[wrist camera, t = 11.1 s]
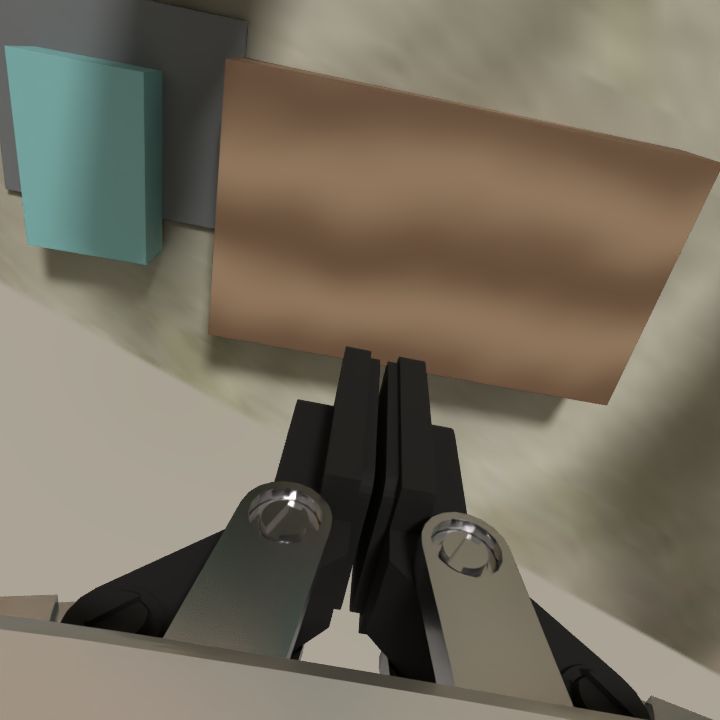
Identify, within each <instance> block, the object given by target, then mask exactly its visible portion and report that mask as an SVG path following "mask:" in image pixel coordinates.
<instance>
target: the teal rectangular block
mask: <svg viewBox="0 0 720 720" xmlns="http://www.w3.org/2000/svg"><path fill="white" fill-rule="evenodd" d="M5 55H6V64H7V72H8V81H9V89H10V98H11V106H12V115H13V124H14V132H15V141H16V149H17V158H18V166H19V175H20V184H21V192H22V201H23V209H24V218H25V226H26V235H27V244H28V245H32V246H38V247H44V248H50V249H55V250H61V251H67V252H73V253H79V254H84V255H90V256H96V257H102V258H108V259H113V260H119V261H125V262H131V263H137V264H143V265H147V264H148V263H149V262H150V261H151V260H152V259H153V258H154V257H155V256H156V255H158V254H159V253H160V252H161V251H162V152H163V71H160V70H155V69H150V68H145V67H140V66H134V65H129V64H124V63H119V62H114V61H108V60H103V59H98V58H93V57H88V56H83V55H77V54H72V53H67V52H62V51H57V50H51V49H46V48H41V47H36V46H5Z"/></svg>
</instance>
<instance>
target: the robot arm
mask: <svg viewBox="0 0 720 720" xmlns="http://www.w3.org/2000/svg"><path fill="white" fill-rule="evenodd" d="M379 377H380V360H379V359H374V358H371V351H369V350H363V349H358V348H353V347H348V346H346V348H345V352H344V357H343V362H342V367H341V372H340V377H339V382H338V387H337V392H336V397H335V402H334V406H330V405H325V404H320V403H315V402H309V401H304V400H299V399H298V400H297V403H296V406H295V410H294V413H293V417H292V421H291V424H290V428H289V431H288V435H287V439H286V442H285V446H284V449H283V453H282V457H281V460H280V464H279V467H278V471H277V475H276V478H275V482H270V483H267V484H263V485H260V486H258V487H256V488H255V489H253V490H251V491H250V492H248V494H247V495H246V496H245V497H244V498H243V499H242V501H241V502H240V504H239V506H238V507H237V509H236V511H235V513H234V514H233V516H232V518H231V520H230V522H229V523H228V525H227V527H226V529H224V530H222V531H220V532H218V533H215V534H213V535H211V536H209V537H207V538H205V539H203V540H200V541H198V542H196V543H194V544H191V545H189V546H187V547H185V548H183V549H180V550H178V551H176V552H174V553H172V554H170V555H167V556H165V557H163V558H161V559H159V560H156V561H154V562H152V563H150V564H148V565H145V566H144V567H141V568H139V569H137V570H134V571H132V572H130V573H128V574H126V575H124V576H121V577H119V578H117V579H115V580H113V581H110V582H108V583H106V584H104V585H102V586H99V587H97V588H95V589H94V590H92V591H90V592H89V593H87V594H85V595H84V596H82V597H80V599H78V600H77V601H76V602H61V603H58V596H57V595H38V596H37V595H36V596H9V597H0V720H712V719H709V718H707V717H705V716H702V715H699V714H697V713H694V712H692V711H689V710H687V709H684V708H681V707H679V706H676V705H673V704H671V703H668V702H666V701H664V700H661V699H659V698H656V697H653V696H650V698H649V699H648V701H646V702H644V701H642V700H640V698H639V697H638V695H637V693H636V692H635V691H634V690H633V689H632V688H631V687H630V686H629V684H628V683H627V682H626V681H625V680H624V679H623V678H622V677H621V676H619V675H618V674H617V673H616V672H615V671H614V670H613V669H612V668H610V667H609V666H608V665H607V664H606V663H605V662H603V661H602V660H601V659H600V658H599V657H598V656H597V655H595V654H594V653H593V652H592V651H591V650H590V649H589V648H587V647H586V646H585V645H584V644H583V643H582V642H581V641H579V640H578V639H577V638H576V637H575V636H573V635H572V634H571V633H570V632H569V631H568V630H567V629H566V628H564V627H563V626H562V625H561V624H560V623H559V622H558V621H556V620H555V619H554V618H553V617H552V616H550V615H549V614H548V613H547V612H546V611H545V610H544V609H543V608H542V607H540V606H539V605H538V604H537V603H536V602H535V601H533V600H532V599H531V598H530V597H529V595H528V592H527V590H526V587H525V585H524V582H523V580H522V578H521V575H520V573H519V570H518V568H517V565H516V563H515V560H514V558H513V555H512V553H511V550H510V548H509V546H508V545H507V543H506V541H505V540H504V538H503V537H502V536H501V535H500V534H499V533H498V532H497V531H496V530H495V529H494V528H493V527H492V526H490V525H489V524H487V523H486V522H484V521H483V520H481V519H478V518H476V517H474V516H471V515H469V514H467V511H466V504H465V498H464V491H463V485H462V478H461V472H460V465H459V459H458V452H457V446H456V439H455V434H454V430H453V429H452V428H447V427H442V426H436V425H432V424H431V414H430V404H429V393H428V383H427V373H426V363H425V361H420V360H415V359H410V358H405V357H400V356H399V358H398V360H397V363H395V362H390V361H388V362H387V365H386V369H385V373H384V377H383V381H382V385H381V389H380V393H379ZM352 566H353V571H352V583H351V596H350V612H356V613H360V618H359V633H361V634H367V635H368V636H369V637H370V638H371V639H372V641H373V642H374V643H375V644H376V645H377V646H378V647H379V649H380V650H381V653H380V656H379V672H380V674H377V673H371V672H365V671H359V670H353V669H346V668H341V667H335V666H329V665H323V664H317V663H311V662H305V661H300V659H301V657H302V653H303V648H304V644H305V643H306V642H308V641H309V640H311V639H312V638H314V637H315V636H317V635H318V634H320V633H321V632H323V631H324V630H326V629H327V628H328V627H329V625H330V621H331V617H332V613H333V610H334V609H339V610H340V609H341V607H342V603H343V599H344V596H345V592H346V588H347V584H348V581H349V577H350V573H351V570H352Z"/></svg>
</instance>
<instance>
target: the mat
mask: <svg viewBox="0 0 720 720" xmlns="http://www.w3.org/2000/svg"><path fill="white" fill-rule="evenodd" d="M247 33H248V22H247V21H242V20H237V19H233V18H228V17H223V16H219V15H214V14H209V13H205V12H200V11H196V10H191V9H186V8H182V7H177V6H172V5H168V4H163V3H159V2H154V1H149V0H0V144H1V153H2V162H3V170H4V179H5V188H6V189H8V190H13V191H19V192H21V184H20V175H19V166H18V158H17V149H16V141H15V132H14V124H13V115H12V106H11V98H10V89H9V81H8V72H7V64H6V55H5V46H36V47H41V48H46V49H51V50H57V51H62V52H67V53H72V54H77V55H83V56H88V57H93V58H98V59H103V60H108V61H114V62H119V63H124V64H129V65H134V66H140V67H145V68H150V69H155V70H160V71H163V152H162V219H166V220H171V221H176V222H181V223H187V224H192V225H197V226H202V227H207V228H213V229H215V219H216V203H217V187H218V171H219V156H220V140H221V124H222V108H223V93H224V77H225V61H226V58H246V46H247Z"/></svg>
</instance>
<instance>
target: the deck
mask: <svg viewBox="0 0 720 720" xmlns="http://www.w3.org/2000/svg"><path fill="white" fill-rule="evenodd" d="M719 172H720V162H717V161H714V160H711V159H708V158H704V157H701V156H698V155H695V154H692V153H689V152H685V151H682V150H678V149H674V148H669V147H664V146H660V145H655V144H650V143H645V142H641V141H636V140H631V139H626V138H622V137H617V136H612V135H608V134H603V133H598V132H593V131H589V130H584V129H579V128H574V127H570V126H565V125H560V124H555V123H551V122H546V121H541V120H537V119H532V118H527V117H522V116H518V115H513V114H508V113H503V112H499V111H494V110H489V109H485V108H480V107H475V106H470V105H466V104H461V103H456V102H451V101H447V100H442V99H437V98H433V97H428V96H423V95H418V94H414V93H409V92H404V91H399V90H395V89H390V88H385V87H381V86H376V85H371V84H366V83H362V82H357V81H352V80H347V79H343V78H338V77H333V76H329V75H324V74H319V73H314V72H310V71H305V70H300V69H295V68H291V67H286V66H281V65H277V64H272V63H267V62H262V61H258V60H253V59H248V58H226V61H225V77H224V93H223V108H222V124H221V140H220V156H219V171H218V187H217V203H216V219H215V235H214V250H213V266H212V282H211V298H210V314H209V329H208V334H209V335H214V336H220V337H226V338H231V339H237V340H242V341H248V342H254V343H259V344H265V345H270V346H276V347H282V348H287V349H293V350H298V351H304V352H310V353H315V354H321V355H327V356H332V357H338V358H343V357H344V352H345V348H346V346H348V347H353V348H358V349H363V350H369V351H371V358H374V359H379V360H380V365H383V366H386V365H387V362H388V361H390V362H395V363H397V360H398V358H399V356H400V357H405V358H410V359H415V360H420V361H425V363H426V373H428V374H433V375H439V376H444V377H450V378H456V379H461V380H467V381H472V382H478V383H484V384H489V385H495V386H500V387H506V388H512V389H517V390H523V391H529V392H534V393H540V394H545V395H551V396H557V397H562V398H568V399H573V400H579V401H585V402H590V403H596V404H602V405H607V404H608V402H609V400H610V398H611V396H612V394H613V392H614V390H615V388H616V386H617V384H618V381H619V379H620V377H621V375H622V373H623V371H624V369H625V367H626V365H627V363H628V361H629V359H630V356H631V354H632V352H633V350H634V348H635V346H636V344H637V342H638V340H639V338H640V336H641V334H642V332H643V329H644V327H645V325H646V323H647V321H648V319H649V317H650V315H651V313H652V311H653V309H654V307H655V305H656V302H657V300H658V298H659V296H660V294H661V292H662V290H663V288H664V286H665V284H666V282H667V280H668V278H669V275H670V273H671V271H672V269H673V267H674V265H675V263H676V261H677V259H678V257H679V255H680V253H681V251H682V248H683V246H684V244H685V242H686V240H687V238H688V236H689V234H690V232H691V230H692V228H693V226H694V224H695V221H696V219H697V217H698V215H699V213H700V211H701V209H702V207H703V205H704V203H705V201H706V199H707V197H708V194H709V192H710V190H711V188H712V186H713V184H714V182H715V180H716V178H717V176H718V174H719Z"/></svg>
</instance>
